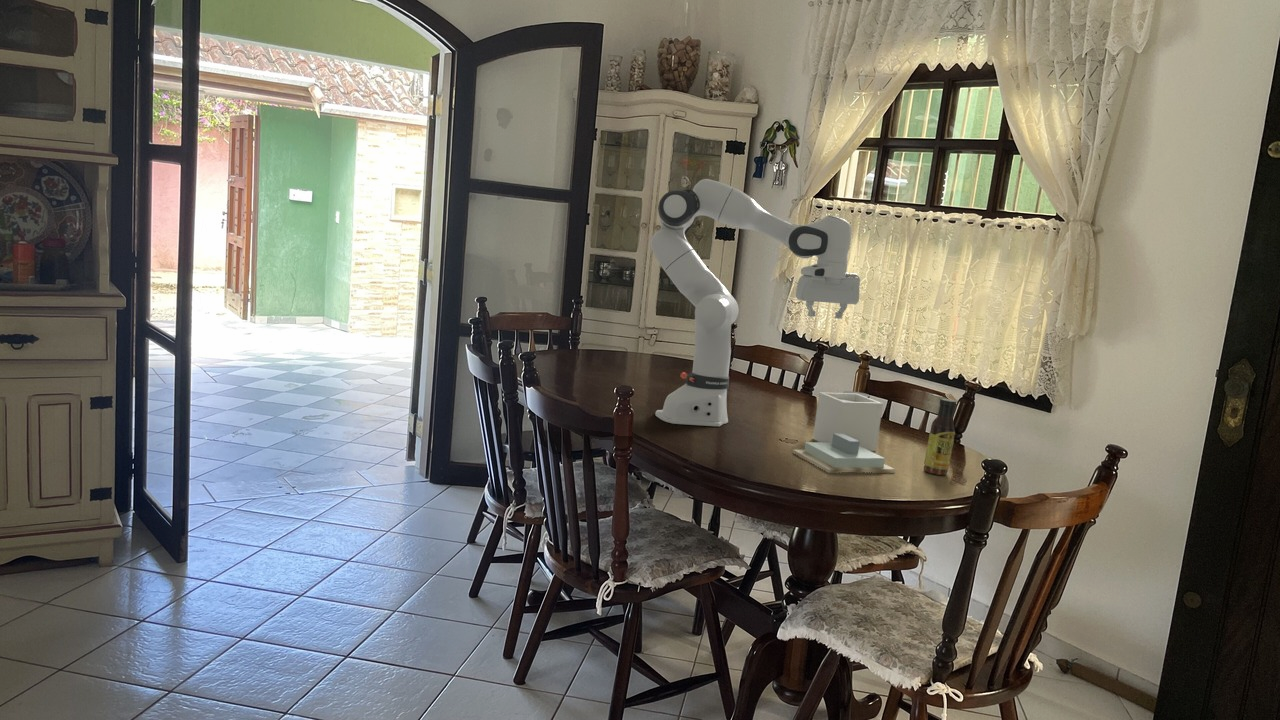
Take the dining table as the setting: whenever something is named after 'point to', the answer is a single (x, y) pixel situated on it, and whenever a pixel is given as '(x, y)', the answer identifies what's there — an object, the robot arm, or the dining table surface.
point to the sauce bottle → (941, 439)
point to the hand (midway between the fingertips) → (824, 317)
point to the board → (836, 470)
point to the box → (848, 418)
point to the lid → (844, 453)
